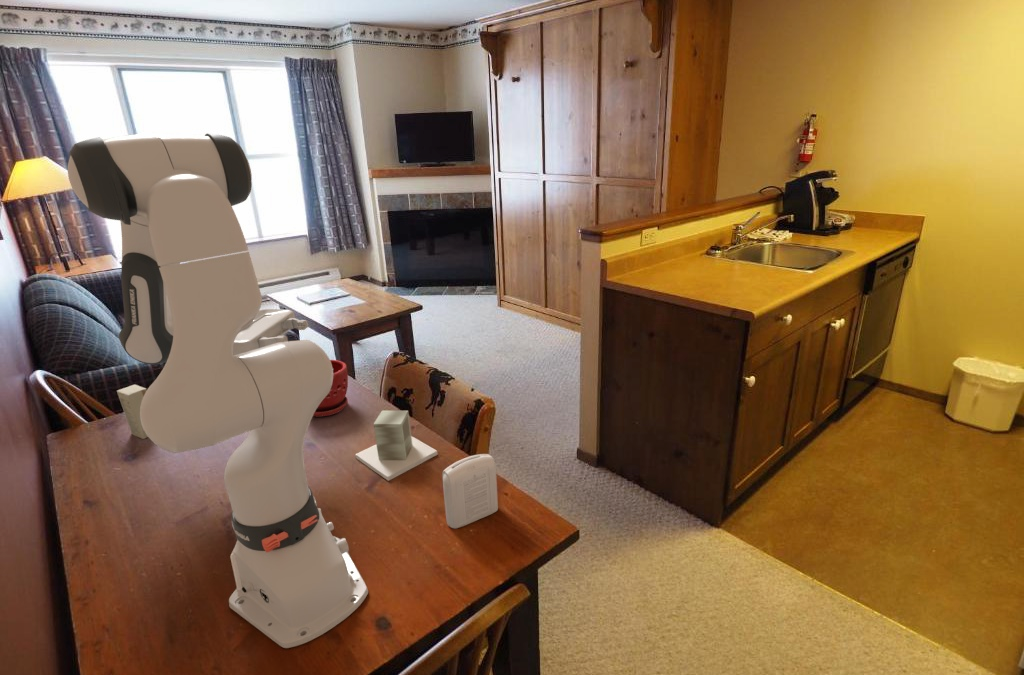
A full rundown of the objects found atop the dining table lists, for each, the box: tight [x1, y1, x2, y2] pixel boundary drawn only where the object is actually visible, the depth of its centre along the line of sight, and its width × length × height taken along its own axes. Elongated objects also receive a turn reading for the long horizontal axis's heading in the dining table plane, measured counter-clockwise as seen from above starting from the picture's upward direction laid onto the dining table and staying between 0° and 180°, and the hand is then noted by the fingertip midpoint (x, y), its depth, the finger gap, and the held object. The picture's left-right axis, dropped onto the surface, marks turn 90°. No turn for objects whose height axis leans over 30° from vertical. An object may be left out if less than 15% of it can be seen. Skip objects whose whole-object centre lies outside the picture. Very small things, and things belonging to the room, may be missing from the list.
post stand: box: [354, 435, 438, 482], centre depth 120 cm, size 13×13×8 cm
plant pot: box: [313, 359, 349, 417], centre depth 143 cm, size 13×13×12 cm
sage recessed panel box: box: [373, 410, 413, 460], centre depth 119 cm, size 6×6×9 cm
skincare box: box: [116, 384, 149, 440], centre depth 134 cm, size 6×4×12 cm
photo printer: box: [441, 453, 499, 529], centre depth 99 cm, size 10×4×12 cm, turn 122°
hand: (296, 332), depth 112 cm, fingers open, 8 cm apart
